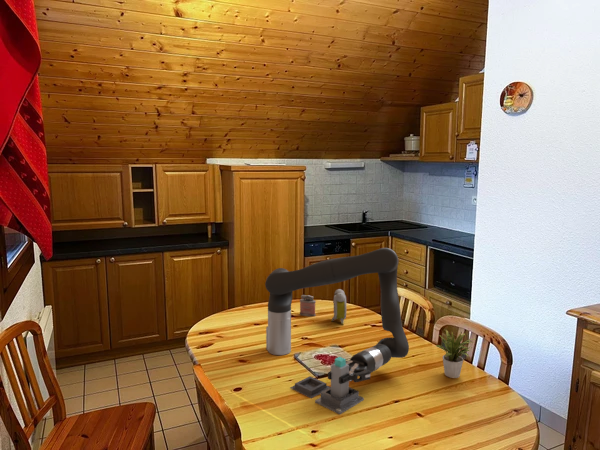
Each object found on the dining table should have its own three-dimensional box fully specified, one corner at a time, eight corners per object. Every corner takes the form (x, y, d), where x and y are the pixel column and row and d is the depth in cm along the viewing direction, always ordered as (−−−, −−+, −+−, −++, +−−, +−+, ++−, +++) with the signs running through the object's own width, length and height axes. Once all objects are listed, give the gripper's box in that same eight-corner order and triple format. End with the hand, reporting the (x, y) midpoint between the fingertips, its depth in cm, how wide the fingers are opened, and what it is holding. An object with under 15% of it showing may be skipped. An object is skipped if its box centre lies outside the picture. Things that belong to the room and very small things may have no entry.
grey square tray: (289, 388, 155) (289, 383, 155) (309, 378, 162) (309, 373, 162) (311, 399, 148) (311, 394, 148) (331, 388, 155) (331, 383, 155)
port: (315, 403, 146) (315, 392, 145) (339, 389, 154) (339, 380, 154) (339, 415, 139) (340, 404, 138) (363, 400, 147) (364, 390, 147)
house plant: (468, 389, 155) (471, 343, 153) (427, 379, 162) (429, 334, 160) (477, 373, 167) (480, 330, 165) (438, 364, 174) (440, 322, 172)
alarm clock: (346, 326, 214) (346, 294, 212) (331, 326, 214) (331, 294, 212) (344, 317, 226) (344, 287, 224) (330, 317, 226) (330, 287, 224)
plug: (330, 398, 146) (331, 359, 145) (338, 393, 149) (339, 355, 147) (340, 402, 144) (341, 362, 142) (348, 397, 147) (349, 358, 145)
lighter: (316, 314, 230) (316, 295, 228) (314, 316, 227) (314, 297, 225) (301, 312, 232) (301, 293, 231) (298, 315, 229) (298, 295, 228)
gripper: (350, 345, 160) (317, 360, 148) (385, 357, 150) (352, 374, 138) (350, 365, 161) (317, 382, 149) (384, 378, 151) (352, 398, 139)
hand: (334, 378), depth 143 cm, fingers closed on plug, 3 cm apart
